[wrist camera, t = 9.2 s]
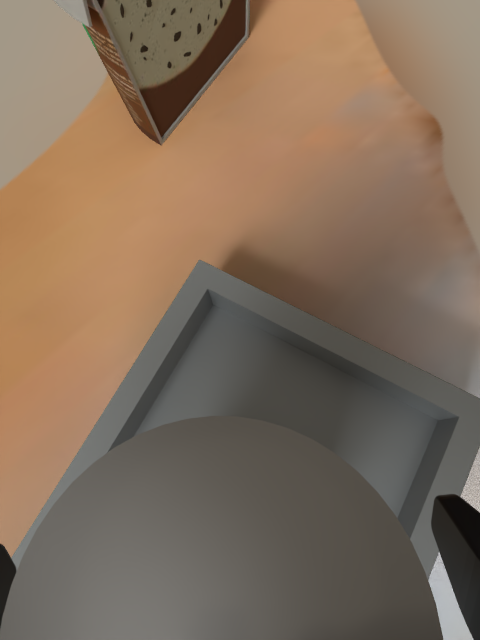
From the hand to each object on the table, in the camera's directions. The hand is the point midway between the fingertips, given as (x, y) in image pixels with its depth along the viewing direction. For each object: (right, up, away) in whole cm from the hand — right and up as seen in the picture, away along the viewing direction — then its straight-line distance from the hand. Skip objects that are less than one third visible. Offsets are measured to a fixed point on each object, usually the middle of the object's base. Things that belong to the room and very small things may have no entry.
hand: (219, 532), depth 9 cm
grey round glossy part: (+1, -3, +8) cm, 9 cm away
